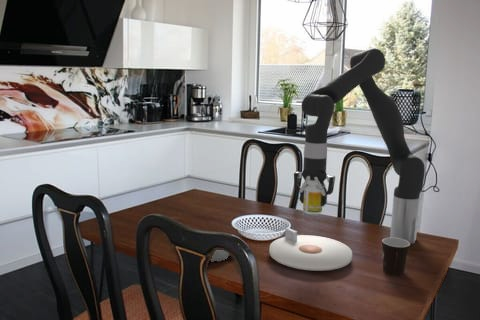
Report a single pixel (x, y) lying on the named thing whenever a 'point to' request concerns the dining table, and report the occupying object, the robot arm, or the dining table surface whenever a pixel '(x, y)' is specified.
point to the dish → (219, 255)
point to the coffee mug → (394, 255)
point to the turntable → (310, 252)
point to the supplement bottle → (312, 198)
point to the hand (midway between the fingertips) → (312, 204)
